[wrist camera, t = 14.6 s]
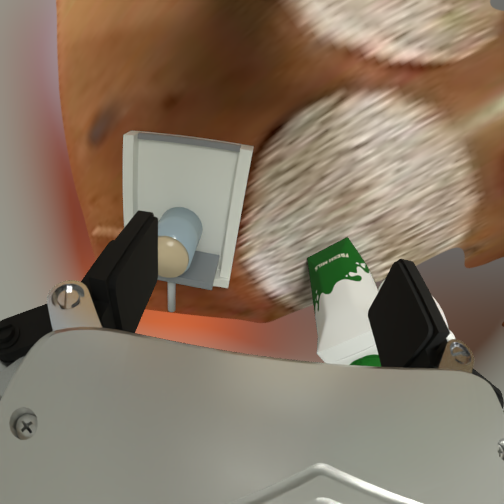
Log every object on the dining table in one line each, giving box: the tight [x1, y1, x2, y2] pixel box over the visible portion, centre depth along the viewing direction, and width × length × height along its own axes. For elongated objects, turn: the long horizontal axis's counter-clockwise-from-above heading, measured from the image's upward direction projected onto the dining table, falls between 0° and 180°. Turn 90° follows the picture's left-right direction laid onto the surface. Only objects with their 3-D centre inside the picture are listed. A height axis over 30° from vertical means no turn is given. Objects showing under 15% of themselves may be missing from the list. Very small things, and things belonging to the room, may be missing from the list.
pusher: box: [157, 251, 220, 312], centre depth 44 cm, size 9×12×6 cm
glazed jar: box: [158, 207, 203, 278], centre depth 39 cm, size 6×6×8 cm
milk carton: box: [307, 237, 381, 367], centre depth 37 cm, size 9×9×20 cm
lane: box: [123, 131, 254, 288], centre depth 41 cm, size 21×16×3 cm
